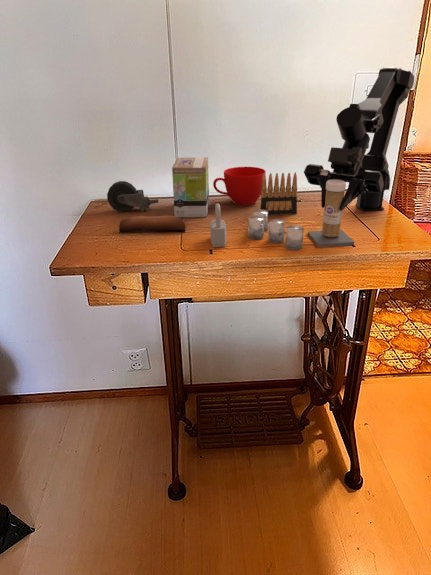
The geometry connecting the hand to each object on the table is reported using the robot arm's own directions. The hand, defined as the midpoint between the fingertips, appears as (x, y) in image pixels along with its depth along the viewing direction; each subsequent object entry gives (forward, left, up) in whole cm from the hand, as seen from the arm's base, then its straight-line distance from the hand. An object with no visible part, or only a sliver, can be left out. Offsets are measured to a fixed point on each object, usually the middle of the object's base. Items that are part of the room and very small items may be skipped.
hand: (331, 208), depth 108 cm
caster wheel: (+50, -35, -9) cm, 62 cm away
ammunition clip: (+7, -24, -9) cm, 26 cm away
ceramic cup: (+17, -36, -9) cm, 41 cm away
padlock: (+27, -4, -9) cm, 29 cm away
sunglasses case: (+44, -18, -9) cm, 48 cm away
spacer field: (+13, -4, -8) cm, 16 cm away
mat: (-1, -1, -8) cm, 8 cm away
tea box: (+32, -32, -9) cm, 46 cm away
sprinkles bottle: (-1, -1, -7) cm, 7 cm away
